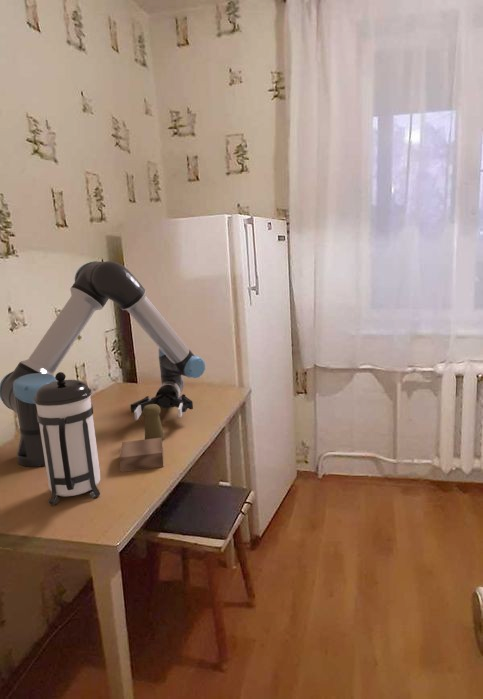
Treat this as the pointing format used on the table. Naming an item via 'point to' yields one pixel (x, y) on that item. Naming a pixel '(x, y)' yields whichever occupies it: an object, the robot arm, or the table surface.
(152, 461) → the walnut base
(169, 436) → the table surface
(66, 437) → the coffee press
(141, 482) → the table surface
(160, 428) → the olive pawn
